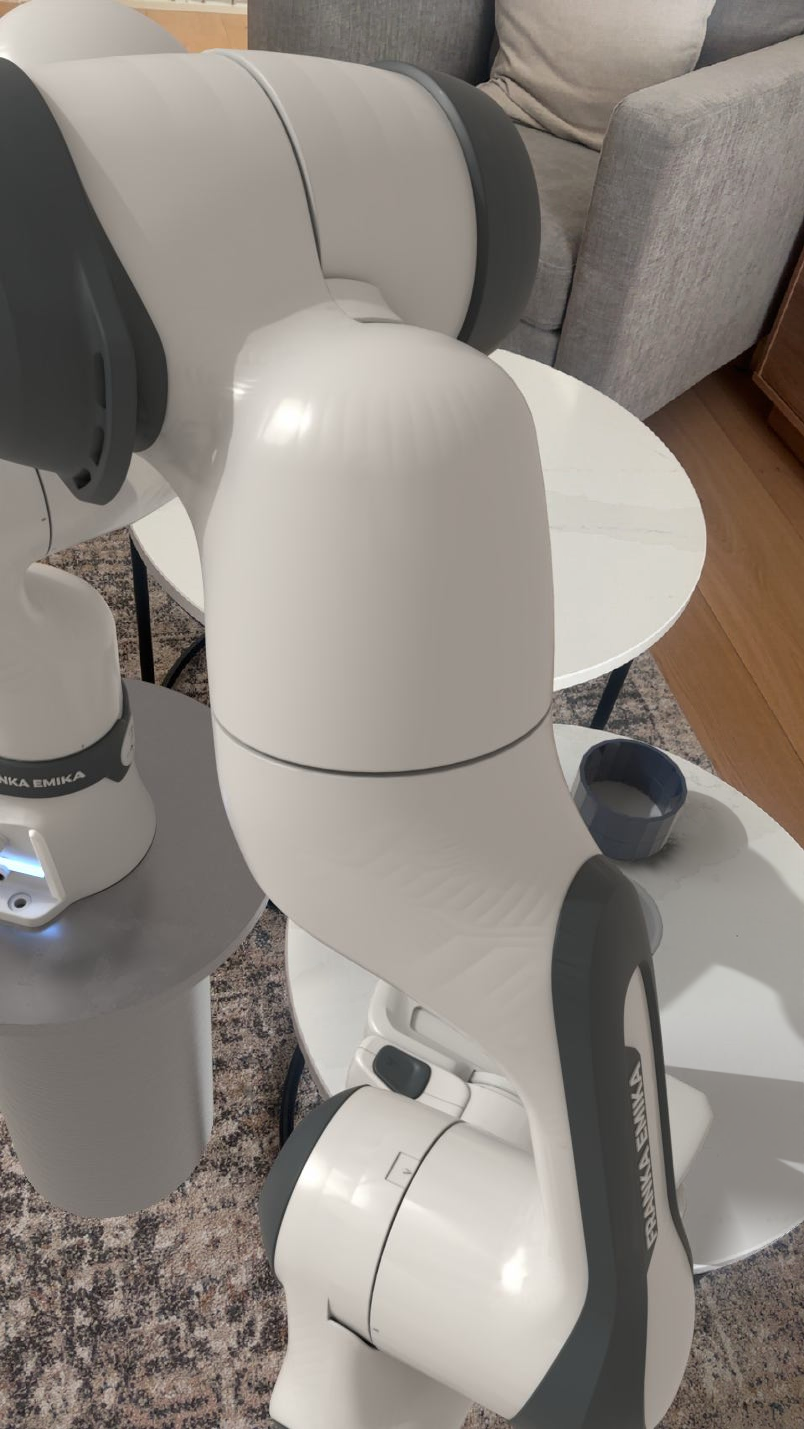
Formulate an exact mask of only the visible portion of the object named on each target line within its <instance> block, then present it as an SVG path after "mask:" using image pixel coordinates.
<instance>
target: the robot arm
mask: <svg viewBox="0 0 804 1429" xmlns="http://www.w3.org/2000/svg"><path fill="white" fill-rule="evenodd" d="M531 160H532V159H531V157H530V155H529V151H528V149H527V147H526V144H525V142H524V140H523V138H522V136H521V134H520V132H519V130H518V128H517V126H516V125H515V123H514V122H513V120H512V119H511V117H510V116H509V114H508V113H507V112H506V111H505V109H504V108H503V107H502V106H501V105H500V104H499V102H497V100H495V99H494V98H493V97H492V96H490V95H489V94H488V93H486V92H485V91H483V90H482V89H480V88H479V87H477V86H474V85H473V84H471V83H469V82H467V81H466V80H463V79H461V78H457V77H456V76H453V75H451V74H448V73H446V72H443V71H440V70H437V69H434V68H431V67H428V66H423V65H420V64H415V63H411V62H406V61H402V60H398V59H382V60H375V61H372V62H368V63H365V64H361V63H356V62H349V61H344V60H339V59H332V58H326V57H319V56H313V55H306V54H305V55H304V54H297V53H287V52H277V51H268V50H260V49H259V50H258V49H257V50H255V49H240V48H239V49H238V48H223V47H221V48H220V47H216V48H210V49H205V50H203V51H201V52H197V53H196V52H195V53H193V52H192V53H191V52H190V51H189V50H188V49H187V48H186V47H185V45H183V43H181V42H180V40H178V39H177V38H176V37H175V36H174V35H173V34H172V33H171V32H170V31H168V30H167V29H166V28H165V27H163V26H162V25H161V24H159V23H158V22H156V21H155V20H153V19H152V18H150V17H149V16H147V15H146V14H145V13H143V12H140V11H138V10H136V9H134V8H132V7H130V6H128V5H126V4H123V3H121V2H118V1H116V0H29V1H26V2H24V3H21V4H19V5H17V6H16V7H14V8H12V9H11V10H9V11H8V12H6V13H5V14H4V15H3V16H2V17H0V919H2V920H5V921H9V922H12V923H16V924H20V925H23V926H27V927H39V926H42V925H44V924H46V923H48V922H49V921H51V920H52V919H53V918H55V917H56V916H57V915H59V914H60V913H61V912H62V911H63V910H64V909H66V908H67V907H68V906H69V905H70V904H72V903H74V902H75V901H77V900H80V899H82V898H84V897H87V896H90V895H92V894H95V893H97V892H99V891H102V890H104V889H106V888H108V887H110V886H111V885H113V884H115V883H116V882H118V881H119V880H121V879H122V878H124V877H125V876H126V875H127V874H129V873H130V872H131V871H132V870H133V869H134V868H135V867H136V866H137V865H138V864H139V862H140V861H141V860H142V859H143V857H144V856H145V854H146V853H147V851H148V849H149V847H150V845H151V843H152V840H153V837H154V834H155V829H156V811H155V807H154V803H153V801H152V798H151V796H150V794H149V793H148V791H147V790H146V788H145V787H144V785H143V783H142V781H141V779H140V776H139V774H138V771H137V768H136V765H135V762H134V758H133V756H134V749H135V736H134V723H133V715H131V709H130V703H129V696H128V692H127V688H126V686H125V683H124V681H123V680H122V678H123V677H122V675H121V667H120V665H121V664H120V656H119V646H118V636H117V627H116V621H115V617H114V615H113V613H112V611H111V609H110V607H109V605H108V604H107V602H106V600H105V598H104V597H103V596H102V594H101V593H99V591H98V590H97V589H95V587H94V586H92V584H90V583H88V582H87V581H86V580H84V579H82V578H81V577H80V576H77V575H75V574H73V573H71V572H68V571H66V570H63V569H61V568H59V567H55V566H53V565H49V564H45V563H41V562H38V561H40V560H42V559H43V558H47V557H49V556H51V555H54V554H57V553H60V552H62V551H64V550H68V549H70V548H73V547H76V546H78V545H81V544H83V543H86V542H88V541H92V540H94V539H96V538H99V537H102V536H104V535H107V534H110V533H112V532H115V531H118V530H120V529H123V528H126V527H128V526H131V525H133V524H135V523H138V522H139V521H141V520H142V519H144V518H145V517H147V516H149V515H150V514H153V513H154V512H155V511H157V510H159V509H161V508H162V507H164V506H166V505H167V504H168V503H170V502H171V501H172V500H175V498H177V497H178V499H179V501H180V502H181V504H182V505H183V507H184V510H185V511H186V514H187V516H188V519H189V520H190V523H191V526H192V529H193V532H194V536H195V540H196V545H197V549H198V555H199V561H200V569H201V577H202V589H203V591H202V592H203V609H204V610H203V612H204V614H203V616H204V632H205V633H204V635H205V636H204V637H205V657H206V669H207V680H208V693H209V703H210V708H211V716H212V726H213V737H214V747H215V757H216V766H217V773H218V780H219V786H220V791H221V795H222V800H223V803H224V807H225V810H226V813H227V817H228V819H229V822H230V825H231V828H232V830H233V833H234V836H235V838H236V841H237V843H238V845H239V848H240V850H241V852H242V854H243V857H244V859H245V861H246V863H247V866H248V868H249V870H250V871H251V873H252V875H253V877H254V878H255V880H256V882H257V883H258V884H259V886H260V887H261V889H262V890H263V891H264V893H265V894H266V895H267V896H268V897H269V900H270V901H271V902H272V903H273V905H275V906H276V907H277V909H279V911H280V912H282V913H283V914H284V915H285V916H286V917H287V918H288V919H289V920H291V921H292V922H293V923H294V924H295V925H297V926H298V927H299V928H301V929H302V930H303V931H304V932H305V933H307V934H308V935H310V936H311V937H313V938H314V939H315V940H317V941H318V942H319V943H321V944H322V945H324V946H326V947H327V948H328V949H330V950H332V951H334V952H335V953H337V954H339V955H340V956H342V957H344V958H345V959H347V960H348V961H350V962H352V963H354V964H355V965H357V966H359V967H360V968H362V969H363V970H365V971H367V972H368V973H370V974H371V975H373V976H375V977H376V978H378V981H377V983H376V984H375V988H374V990H373V993H372V995H371V998H370V1001H369V1003H368V1006H367V1007H368V1008H367V1012H366V1016H365V1020H364V1024H363V1029H362V1030H363V1031H362V1036H361V1042H360V1044H359V1045H358V1047H357V1049H356V1050H355V1052H354V1054H353V1056H352V1059H351V1060H350V1063H349V1065H348V1069H347V1074H346V1076H345V1077H346V1079H345V1087H344V1090H342V1091H340V1092H338V1093H336V1094H334V1095H332V1096H330V1097H329V1098H327V1099H326V1100H325V1101H323V1102H322V1103H320V1104H319V1105H316V1107H314V1108H313V1109H312V1110H311V1111H309V1112H308V1113H307V1114H306V1115H304V1116H303V1117H302V1118H301V1120H300V1121H299V1122H298V1123H297V1125H296V1126H295V1128H294V1129H293V1130H292V1132H291V1133H290V1135H289V1136H288V1137H287V1139H286V1141H285V1143H284V1144H283V1146H282V1147H281V1149H280V1151H279V1153H278V1155H276V1158H275V1160H274V1162H273V1164H272V1166H271V1168H270V1169H269V1171H268V1174H267V1176H266V1178H265V1180H264V1183H263V1185H262V1188H261V1191H260V1194H259V1198H258V1202H257V1214H258V1222H259V1228H260V1233H261V1234H260V1235H261V1240H262V1244H263V1248H264V1253H265V1256H266V1260H267V1262H268V1264H269V1267H270V1270H271V1272H272V1275H273V1277H274V1279H275V1280H276V1281H277V1283H278V1285H280V1287H281V1288H282V1289H283V1290H284V1296H285V1304H286V1313H287V1346H286V1351H285V1356H284V1359H283V1362H282V1365H281V1366H280V1367H281V1368H280V1370H279V1372H278V1375H277V1378H276V1380H275V1384H274V1386H273V1389H272V1393H271V1396H270V1398H269V1399H270V1400H269V1407H268V1411H269V1416H270V1418H271V1421H272V1423H273V1425H274V1427H275V1428H276V1429H461V1427H462V1426H463V1423H464V1422H465V1420H466V1418H467V1416H468V1414H469V1412H470V1410H471V1408H472V1406H473V1404H474V1403H477V1404H478V1405H480V1406H482V1407H484V1408H486V1409H487V1410H489V1411H491V1412H493V1413H494V1414H496V1415H498V1416H500V1417H502V1418H504V1419H505V1422H506V1424H507V1425H508V1426H510V1427H511V1428H513V1429H658V1428H659V1427H660V1424H661V1422H662V1420H663V1419H664V1417H665V1415H666V1413H668V1411H669V1409H670V1407H671V1406H672V1404H673V1402H674V1399H675V1398H676V1395H677V1394H678V1391H679V1388H680V1386H681V1383H682V1381H683V1378H684V1374H685V1372H686V1368H687V1365H688V1361H689V1358H690V1353H691V1350H692V1345H693V1338H694V1333H695V1332H694V1331H695V1323H696V1292H695V1284H694V1260H693V1254H692V1249H691V1246H690V1242H689V1240H688V1237H687V1232H686V1229H685V1227H684V1223H683V1219H684V1216H685V1212H686V1210H687V1204H688V1203H687V1202H688V1201H687V1194H686V1191H685V1190H686V1189H685V1187H684V1185H683V1181H684V1180H685V1178H686V1177H687V1176H688V1173H689V1172H690V1170H691V1168H692V1167H693V1164H694V1163H695V1161H696V1159H697V1158H698V1156H699V1154H700V1151H701V1150H702V1148H703V1146H704V1144H705V1141H706V1140H707V1137H708V1134H709V1133H710V1130H711V1127H712V1125H713V1122H714V1118H715V1116H714V1112H713V1109H712V1107H711V1103H710V1101H709V1098H708V1096H707V1094H705V1093H703V1092H702V1091H701V1090H699V1089H697V1088H696V1087H693V1086H691V1085H690V1084H687V1083H686V1082H683V1081H682V1080H680V1079H678V1078H676V1077H675V1076H673V1075H670V1074H669V1073H667V1072H666V1065H665V1055H664V1054H665V1053H664V1046H663V1045H664V1044H663V1034H662V1026H661V1016H660V1015H661V1014H660V1006H659V998H658V990H657V981H656V975H655V974H656V973H655V967H654V966H655V965H654V960H653V956H652V952H651V946H650V941H649V936H648V930H647V925H646V921H645V917H644V913H643V909H642V905H641V902H640V898H639V895H638V892H637V890H636V888H635V886H634V885H633V884H632V882H631V881H630V880H629V879H628V878H627V877H626V876H627V875H626V874H624V873H623V871H621V870H620V868H619V867H618V866H617V865H616V864H615V863H614V862H613V861H612V860H611V858H610V857H607V856H605V855H604V854H602V852H601V850H600V849H599V847H598V846H597V844H596V843H595V841H594V839H593V837H592V836H591V834H590V832H589V830H588V829H587V827H586V825H585V823H584V821H583V819H582V817H581V816H580V813H579V811H578V809H577V807H576V805H575V803H574V800H573V798H572V795H571V793H570V792H571V790H570V788H569V785H568V783H567V780H566V777H565V775H564V771H563V767H562V765H561V761H560V757H559V753H558V748H557V744H556V739H555V733H554V732H555V731H554V722H553V720H554V719H553V703H554V698H553V697H554V684H555V683H554V682H555V657H556V656H555V654H556V652H555V651H556V631H555V630H556V627H555V622H556V621H555V587H554V586H555V585H554V572H553V571H554V570H553V556H552V554H553V552H552V541H551V532H550V531H551V530H550V524H549V514H548V505H547V496H546V487H545V479H544V472H543V465H542V460H541V459H542V458H541V454H540V453H541V452H540V448H539V447H540V446H539V441H538V433H537V428H536V425H535V420H534V417H533V413H532V411H531V409H530V407H529V403H528V402H527V399H526V397H525V396H524V394H523V392H522V391H521V389H520V388H519V386H518V385H517V383H516V382H515V380H514V379H513V378H512V377H511V376H510V374H509V373H508V372H507V371H506V370H505V369H504V368H503V366H501V365H500V364H499V363H497V362H496V361H494V360H493V359H492V358H490V355H492V354H493V353H494V352H496V351H497V350H498V349H499V348H500V347H502V345H503V344H504V343H505V342H506V341H507V340H508V339H509V338H510V337H511V335H512V333H514V331H515V330H516V328H517V326H518V324H519V323H520V321H521V319H522V317H523V315H524V313H525V311H526V309H527V307H528V304H529V302H530V299H531V296H532V293H533V289H534V286H535V282H536V278H537V273H538V269H539V261H540V256H541V246H542V245H541V244H542V214H541V213H542V212H541V203H540V195H539V190H538V183H537V178H536V175H535V170H534V167H533V163H532V161H531ZM121 677H122V678H121ZM625 875H626V876H625ZM20 904H25V906H24V907H22V908H16V907H17V906H18V905H20Z"/></svg>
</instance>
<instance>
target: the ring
mask: <svg viewBox="0 0 804 1429" xmlns="http://www.w3.org/2000/svg"><path fill="white" fill-rule="evenodd" d="M602 782H613V783H619V784H623V785H627V786H629V787H631V788H634V789H636V790H637V791H639V792H641V793H642V794H644V795H646V797H648V798H649V799H650V801H652V802H653V803H654V805H656V807H657V809H658V811H659V812H660V814H661V815H659V816H653V817H652V816H651V817H637V816H630V815H627V814H624V813H621V812H619V811H617V810H614V809H613V808H611V807H609V806H608V805H606V804H605V803H604V802H602V801H601V800H600V799H599V798H598V797H597V796H596V795H595V794H594V793H593V792H592V790H591V789H590V787H589V785H591V784H596V783H602ZM570 793H571V795H572V798H573V800H574V803H575V805H576V807H577V809H578V811H579V813H580V816H581V817H582V819H583V821H584V823H585V825H586V827H587V829H588V830H589V832H590V834H591V836H592V837H593V839H594V841H595V843H596V844H597V846H598V847H599V849H600V850H601V852H602V854H604V855H605V856H607V857H608V858H609V859H613V860H618V861H629V862H631V861H632V862H633V861H638V860H643V859H645V860H646V859H648V858H649V857H651V856H653V855H655V854H657V853H659V852H660V851H661V850H662V848H663V847H664V845H666V843H667V842H668V839H669V837H670V835H671V834H672V831H673V829H674V827H675V824H676V823H677V821H678V818H679V816H680V814H681V812H682V810H683V807H684V806H685V803H686V799H687V795H688V787H687V780H686V777H685V775H684V773H683V772H682V770H681V768H680V766H679V765H678V764H677V762H675V761H674V760H673V759H672V758H671V757H670V756H669V755H668V754H667V753H665V752H664V751H661V750H660V749H659V748H657V747H655V746H653V745H652V744H648V743H646V742H642V741H640V740H638V739H629V738H610V739H605V740H602V741H600V742H598V743H596V744H593V745H591V747H590V748H588V750H587V751H586V752H585V753H584V754H583V755H582V757H581V759H580V763H579V766H578V769H577V771H576V775H575V777H574V780H573V783H572V786H571V789H570Z"/></svg>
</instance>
